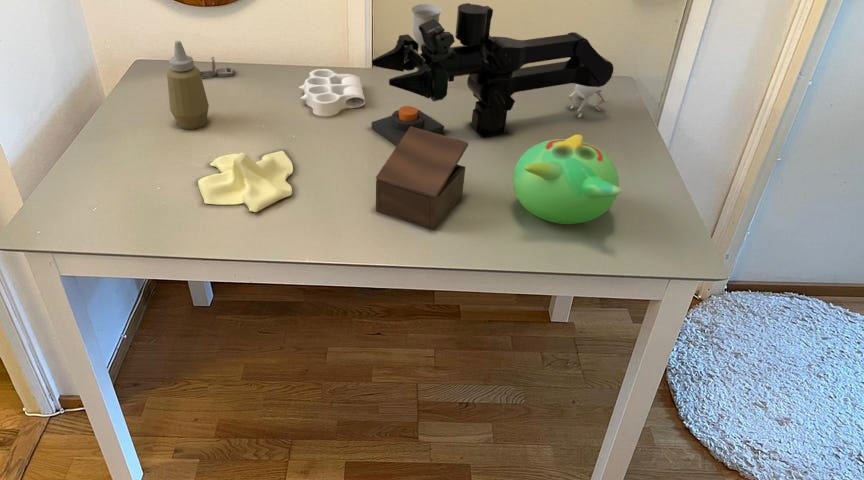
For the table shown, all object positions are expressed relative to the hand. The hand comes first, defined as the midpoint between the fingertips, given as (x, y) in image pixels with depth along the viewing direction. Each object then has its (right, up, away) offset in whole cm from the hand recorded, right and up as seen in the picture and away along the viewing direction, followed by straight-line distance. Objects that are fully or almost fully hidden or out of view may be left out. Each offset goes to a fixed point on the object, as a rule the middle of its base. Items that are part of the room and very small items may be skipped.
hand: (380, 72), depth 131 cm
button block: (+6, -8, +17) cm, 19 cm away
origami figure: (+47, 0, +27) cm, 54 cm away
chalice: (+10, +7, +34) cm, 36 cm away
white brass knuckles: (-12, +2, +28) cm, 30 cm away
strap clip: (-41, +10, +36) cm, 55 cm away
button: (+6, -5, +15) cm, 17 cm away
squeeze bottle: (-41, -6, +17) cm, 45 cm away
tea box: (+7, -25, -4) cm, 27 cm away
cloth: (-25, -20, +1) cm, 32 cm away
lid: (+8, -19, -10) cm, 23 cm away
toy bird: (+32, -28, -6) cm, 43 cm away
